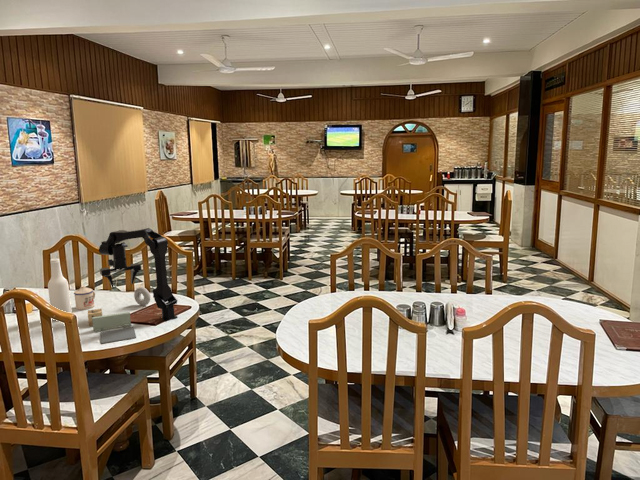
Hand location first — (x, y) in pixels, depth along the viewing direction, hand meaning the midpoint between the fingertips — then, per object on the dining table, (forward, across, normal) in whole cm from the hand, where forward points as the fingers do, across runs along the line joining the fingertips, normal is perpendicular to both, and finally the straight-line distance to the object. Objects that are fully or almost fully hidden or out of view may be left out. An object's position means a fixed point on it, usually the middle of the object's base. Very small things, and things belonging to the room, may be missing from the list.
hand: (122, 285), depth 241 cm
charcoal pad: (+14, +10, +31) cm, 36 cm away
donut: (+14, -10, -5) cm, 18 cm away
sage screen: (+14, +10, +19) cm, 26 cm away
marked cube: (+14, +15, +8) cm, 22 cm away
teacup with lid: (+14, +14, -22) cm, 29 cm away
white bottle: (+14, +28, -10) cm, 32 cm away
